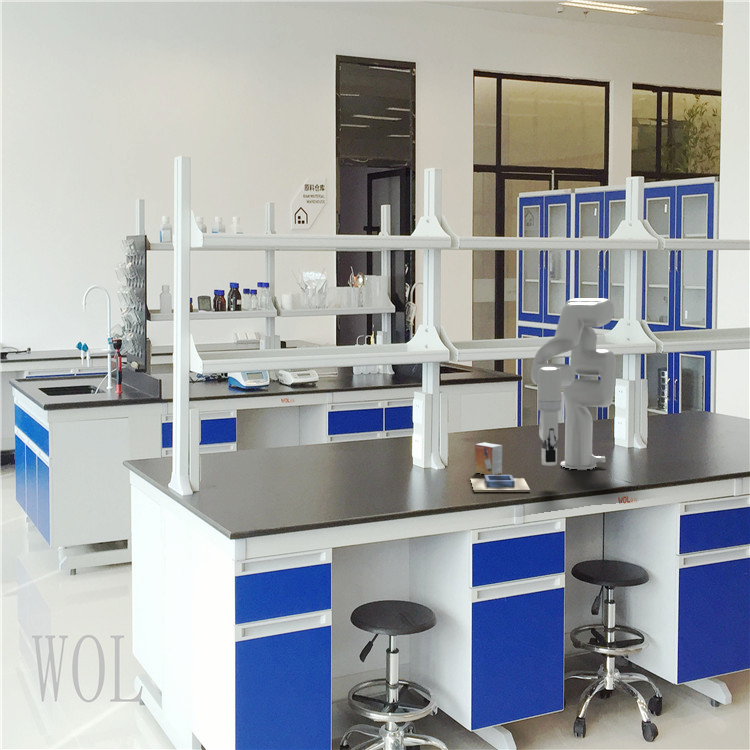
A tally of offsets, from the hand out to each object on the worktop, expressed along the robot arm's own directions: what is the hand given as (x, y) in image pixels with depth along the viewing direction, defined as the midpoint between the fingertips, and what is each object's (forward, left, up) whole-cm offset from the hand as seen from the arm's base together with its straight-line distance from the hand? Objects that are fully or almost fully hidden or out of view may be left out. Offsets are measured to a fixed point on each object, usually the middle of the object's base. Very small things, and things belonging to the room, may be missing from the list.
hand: (549, 459), depth 323 cm
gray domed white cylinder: (0, 0, -2) cm, 2 cm away
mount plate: (+16, +1, -9) cm, 19 cm away
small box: (+18, -18, -9) cm, 28 cm away
